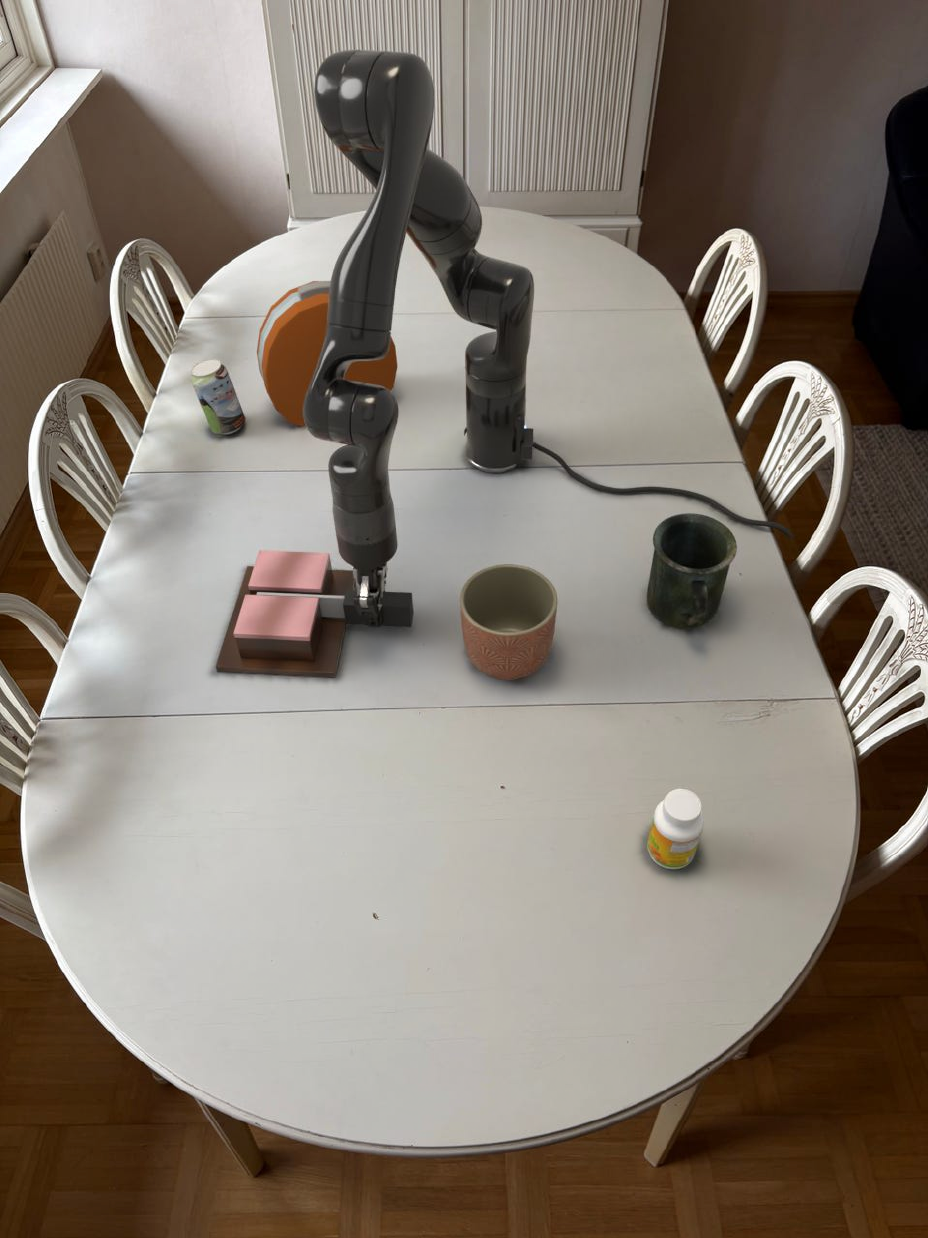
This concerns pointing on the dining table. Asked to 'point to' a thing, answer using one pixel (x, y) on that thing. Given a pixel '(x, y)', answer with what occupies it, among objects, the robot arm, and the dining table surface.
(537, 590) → the planter
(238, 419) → the beverage can
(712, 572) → the mug
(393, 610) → the knife
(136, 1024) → the dining table surface
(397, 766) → the dining table surface
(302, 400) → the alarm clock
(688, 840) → the supplement bottle
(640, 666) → the dining table surface
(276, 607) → the cake
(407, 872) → the dining table surface
